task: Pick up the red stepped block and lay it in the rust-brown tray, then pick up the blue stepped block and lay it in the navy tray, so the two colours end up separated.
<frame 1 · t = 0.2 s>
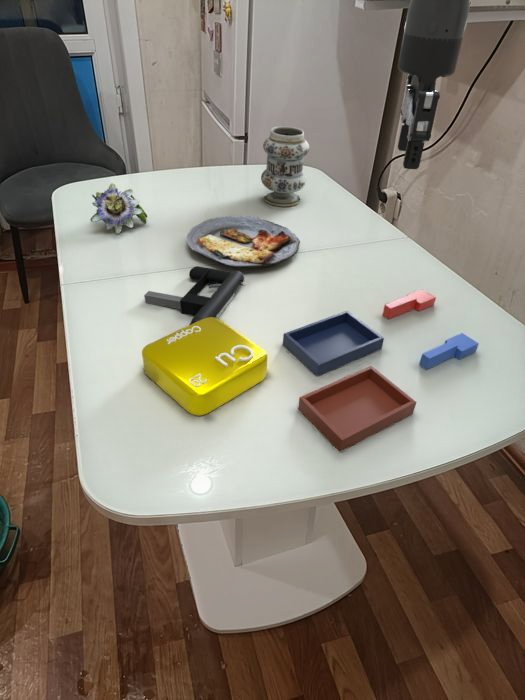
hand: (407, 158, 76), 30 cm above the table, tool pointing down, fingers open, 8 cm apart
blue stepped block: (436, 360, 86), on the table
rust tray: (355, 411, 76), on the table
element tile: (205, 374, 82), on the table
red stepped block: (398, 312, 97), on the table
apothecary jar: (282, 200, 139), on the table
navy tray: (332, 346, 88), on the table
food plate: (243, 248, 116), on the table
door handle: (193, 301, 98), on the table
passion flower: (120, 226, 123), on the table
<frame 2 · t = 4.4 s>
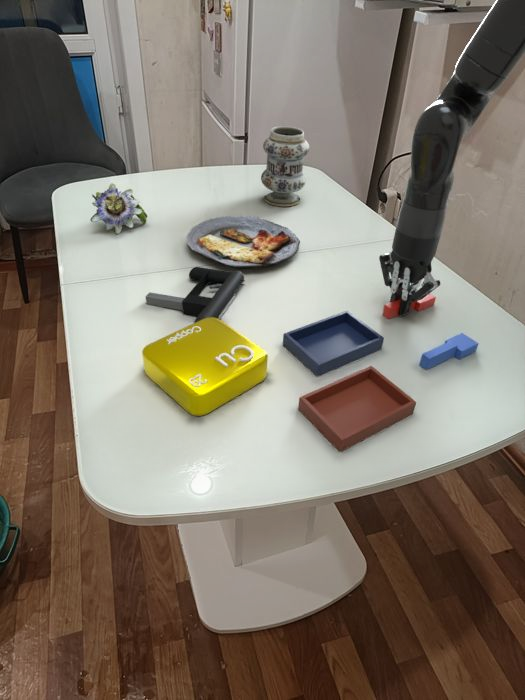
hand: (398, 311, 97), 0 cm above the table, tool pointing down, fingers closed on red stepped block, 1 cm apart
red stepped block: (398, 311, 97), on the table, touching gripper
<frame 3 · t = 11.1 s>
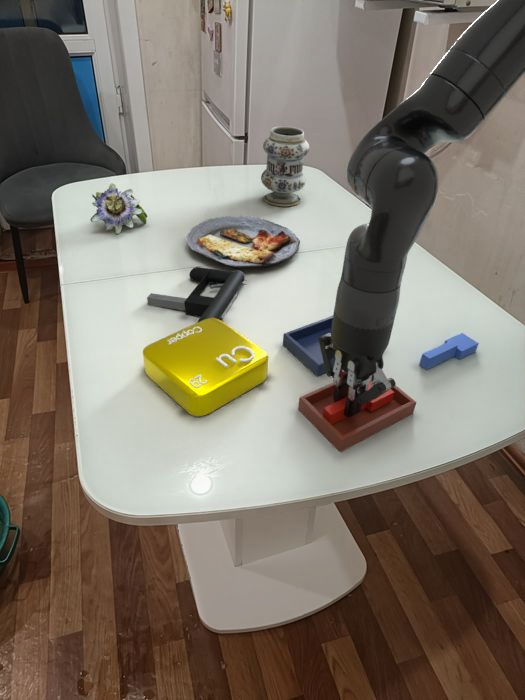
hand: (345, 408, 74), 2 cm above the table, tool pointing down, fingers closed on red stepped block, 1 cm apart
red stepped block: (344, 413, 74), point 1 cm above the table, touching gripper
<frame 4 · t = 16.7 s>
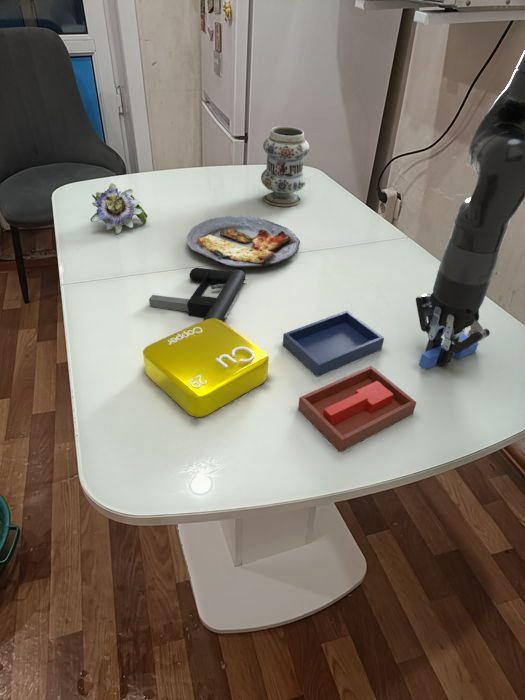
hand: (436, 360, 86), 0 cm above the table, tool pointing down, fingers closed on blue stepped block
blue stepped block: (436, 360, 86), on the table, touching gripper
red stepped block: (344, 415, 75), resting on rust tray
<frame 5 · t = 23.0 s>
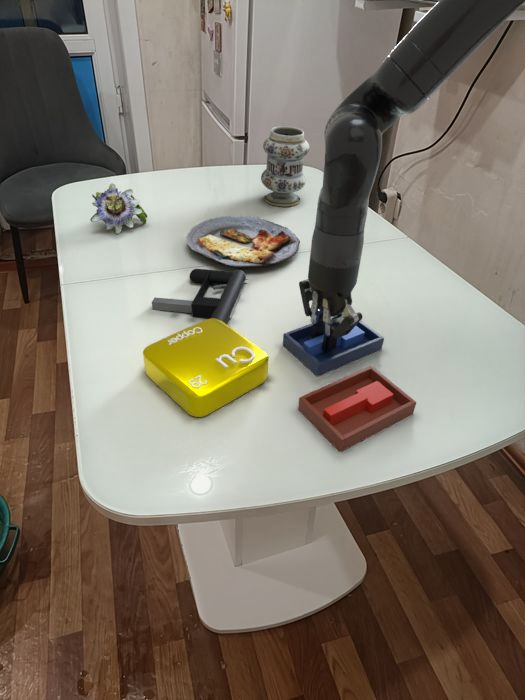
hand: (322, 345, 86), 1 cm above the table, tool pointing down, fingers closed
blue stepped block: (321, 349, 87), resting on navy tray
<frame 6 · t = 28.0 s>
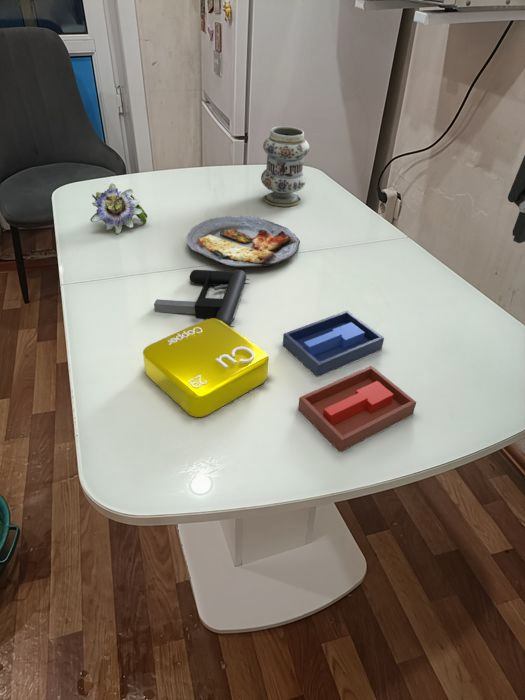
at the end: red stepped block inside the target area in the rust tray (0.5 cm from its centre), point 0.4 cm above the rust tray's base; blue stepped block inside the target area in the navy tray (0.6 cm from its centre), point 0.4 cm above the navy tray's base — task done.
